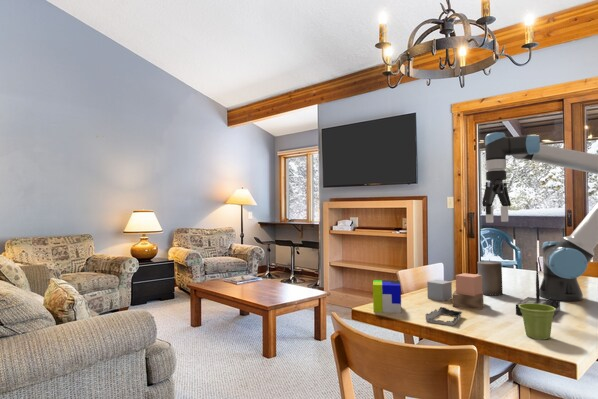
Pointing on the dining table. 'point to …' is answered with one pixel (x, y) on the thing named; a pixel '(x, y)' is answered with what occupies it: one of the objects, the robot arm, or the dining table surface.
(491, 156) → the robot arm
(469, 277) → the terracotta cube
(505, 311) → the dining table surface
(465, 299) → the walnut base block
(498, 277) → the pillar candle
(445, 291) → the slate grey cube
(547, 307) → the plant pot
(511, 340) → the dining table surface
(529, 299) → the wireless controller
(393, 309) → the puzzle toy
